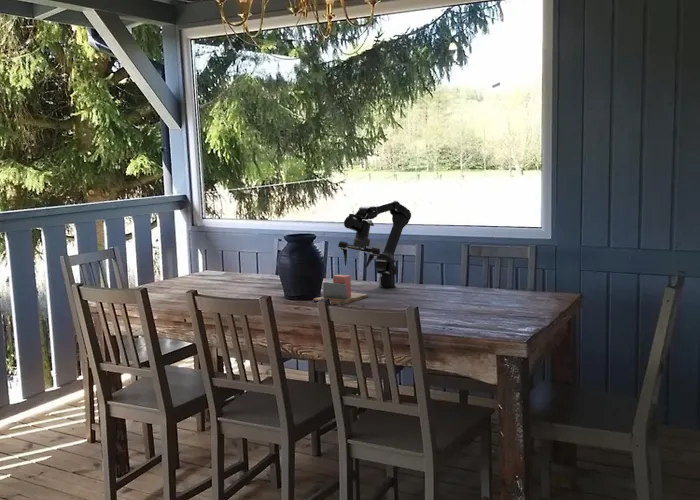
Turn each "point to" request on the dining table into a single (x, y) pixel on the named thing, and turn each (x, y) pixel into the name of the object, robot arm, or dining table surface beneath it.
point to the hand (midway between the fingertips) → (355, 267)
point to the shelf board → (349, 299)
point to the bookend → (334, 290)
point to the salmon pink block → (343, 282)
